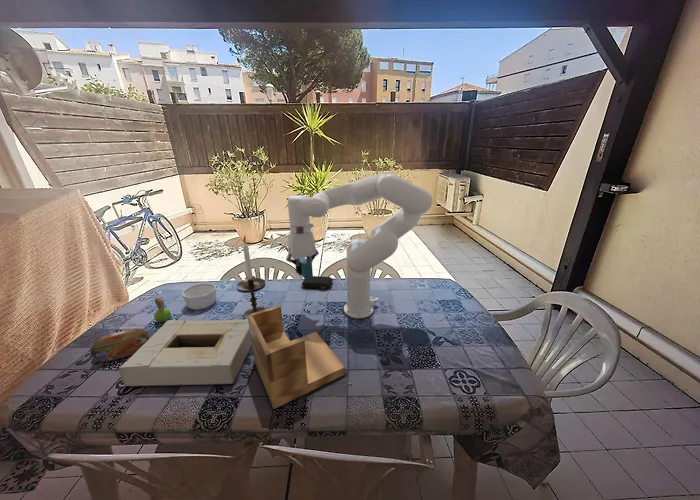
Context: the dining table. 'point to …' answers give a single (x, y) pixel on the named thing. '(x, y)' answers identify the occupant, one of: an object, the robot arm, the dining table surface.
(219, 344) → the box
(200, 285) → the ramekin
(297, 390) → the shelf
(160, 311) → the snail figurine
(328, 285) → the carrying case
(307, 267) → the teal rectangular block
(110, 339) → the tin
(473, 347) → the dining table surface
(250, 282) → the candlestick
